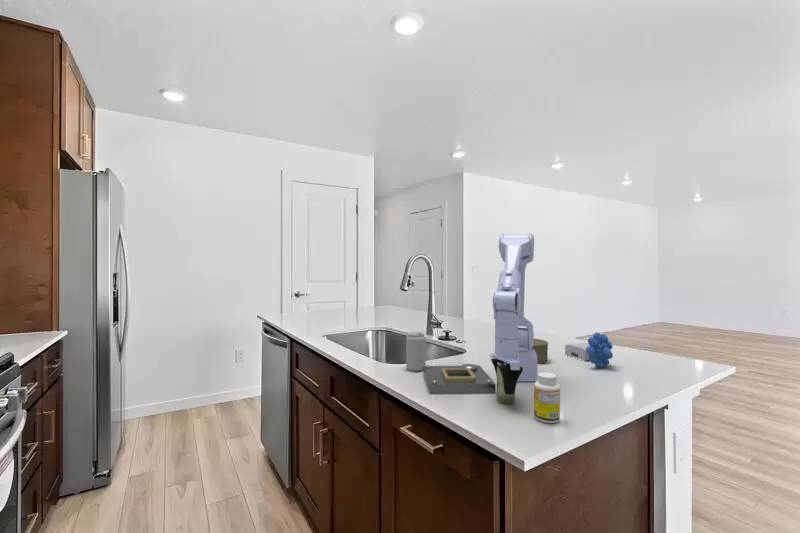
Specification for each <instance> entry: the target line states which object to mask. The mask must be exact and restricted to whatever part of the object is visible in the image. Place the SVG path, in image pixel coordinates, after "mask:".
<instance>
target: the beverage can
mask: <svg viewBox="0 0 800 533" xmlns="http://www.w3.org/2000/svg"><path fill="white" fill-rule="evenodd" d="M405 339H406V340H405V341H406V342H405V344H406V345H405V348H406V352H405V355H406V358H405V360H406V362H405V363H406V364H405V365H406V366H405V367H406V369H407V370H409V372H423V366H427V364H426V363H427V362H426V360H427V359H426V358H427V357H426V356H427V355H426V354H427V352H426V347H427V345H426V344H427V343H426V342H427V340H426V339H427V337H426V335H425V333H424V332H420V331H411V332H408V333H407V335H406V338H405Z"/></svg>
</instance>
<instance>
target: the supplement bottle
mask: <svg viewBox="0 0 800 533" xmlns="http://www.w3.org/2000/svg"><path fill="white" fill-rule="evenodd" d="M537 379H538V381H534V385H533V386H534V389H533V393H534V394H533V395H534V396H533V400H534V401H533V402H534V403H533V405H534V406H533V411H534V412H533V415H534V418H535V419H536V420H538V422H541V423H544V424H545V423H546V424H556V423H558V422H559V421H560V419H561V385H560V384H559V383H558V382H557V375H556V374H555V373H552V372H546V371H545V372H542V371H541V372H539V373H537Z"/></svg>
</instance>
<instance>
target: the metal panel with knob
mask: <svg viewBox="0 0 800 533" xmlns="http://www.w3.org/2000/svg"><path fill="white" fill-rule="evenodd" d="M422 372H423V373H422V374H423V376H424V380H425V384H426V387H427V390H428V393H429V395H437V394H438V395H443V394H446V395H447V394H448V395H449V394H452V393H453V394H454V393H455V394H454V395H459V393H462V394H463V393H465V394H497V383H495V382H494V381H493V379H492V377H491V376H489V374H488V373H487V372H486V371H485V370H484V369H483V368H482V366H481V365H478V364H474V363H463V364H461V365H430V364H426V366H423V371H422ZM456 393H458V394H456ZM453 394H452V395H453Z"/></svg>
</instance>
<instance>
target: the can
mask: <svg viewBox="0 0 800 533" xmlns="http://www.w3.org/2000/svg"><path fill="white" fill-rule="evenodd" d="M531 349H534V350H535V352H536V354H537V364H541V365H545V364H544V363H546V364H547V363H548V355H549V354H548V350H549V341H546V340H545V339H544V340H543V339H540V338H534V340H533V347H532V348H531Z"/></svg>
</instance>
